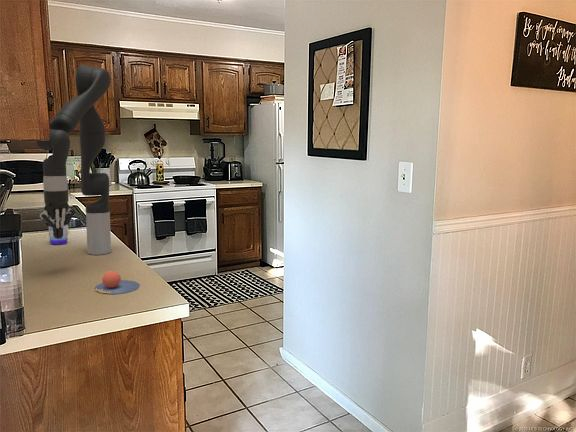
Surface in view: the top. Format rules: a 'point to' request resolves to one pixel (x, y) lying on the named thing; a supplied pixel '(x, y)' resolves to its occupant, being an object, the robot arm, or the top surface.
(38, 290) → the top surface
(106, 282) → the ball
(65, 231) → the bottle
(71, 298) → the top surface
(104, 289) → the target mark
